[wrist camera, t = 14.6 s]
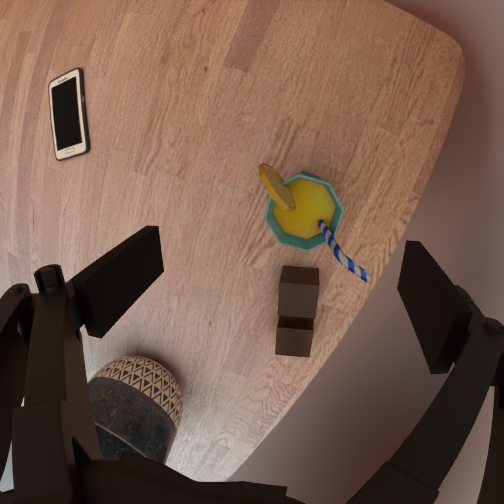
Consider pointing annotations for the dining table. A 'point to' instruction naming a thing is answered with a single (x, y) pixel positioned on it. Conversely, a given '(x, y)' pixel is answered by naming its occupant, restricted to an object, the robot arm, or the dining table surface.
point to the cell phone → (68, 115)
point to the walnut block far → (294, 336)
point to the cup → (305, 214)
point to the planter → (135, 408)
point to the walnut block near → (298, 292)
